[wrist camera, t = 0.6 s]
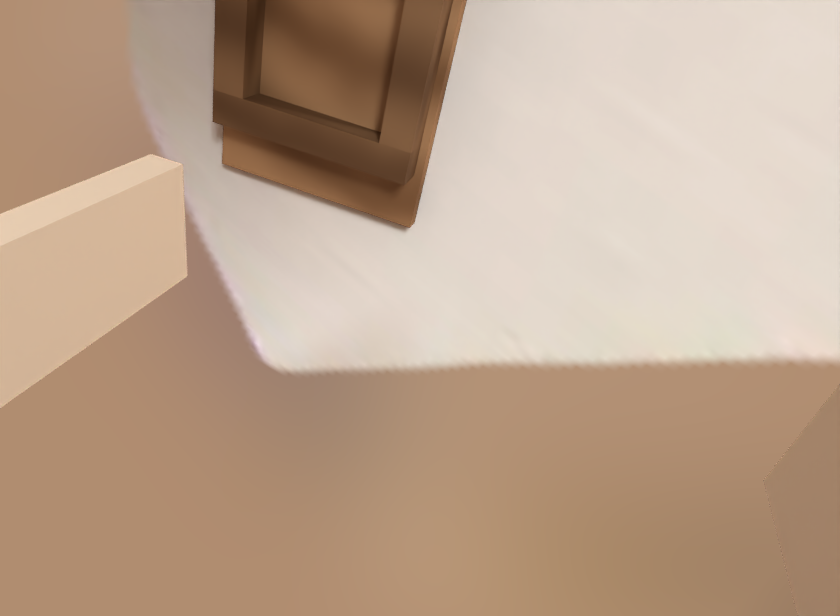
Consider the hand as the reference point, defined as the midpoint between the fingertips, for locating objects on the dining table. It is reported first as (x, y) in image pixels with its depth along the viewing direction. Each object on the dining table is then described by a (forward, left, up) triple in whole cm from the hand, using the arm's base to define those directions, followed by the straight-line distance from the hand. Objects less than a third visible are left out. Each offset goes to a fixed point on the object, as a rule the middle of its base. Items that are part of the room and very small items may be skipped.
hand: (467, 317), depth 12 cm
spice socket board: (0, -14, -25) cm, 29 cm away
